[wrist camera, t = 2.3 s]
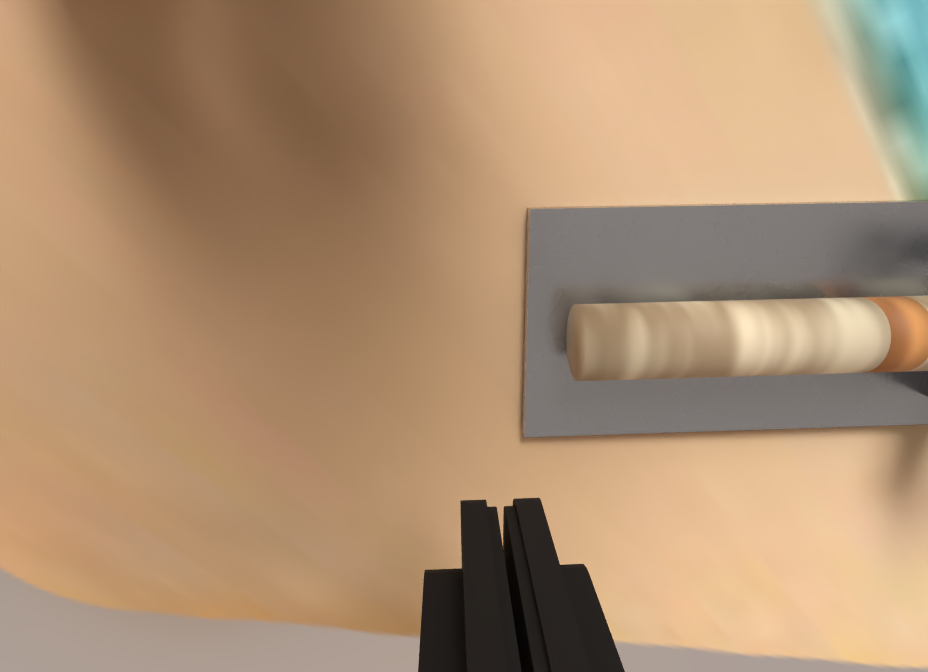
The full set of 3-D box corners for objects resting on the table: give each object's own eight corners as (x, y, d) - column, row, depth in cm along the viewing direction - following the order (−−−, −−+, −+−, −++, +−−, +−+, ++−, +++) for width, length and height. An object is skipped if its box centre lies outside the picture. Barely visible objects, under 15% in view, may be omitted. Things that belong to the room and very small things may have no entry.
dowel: (564, 364, 25) (583, 394, 21) (568, 296, 24) (589, 316, 20) (1013, 351, 25) (1101, 378, 22) (1038, 284, 24) (1134, 302, 21)
